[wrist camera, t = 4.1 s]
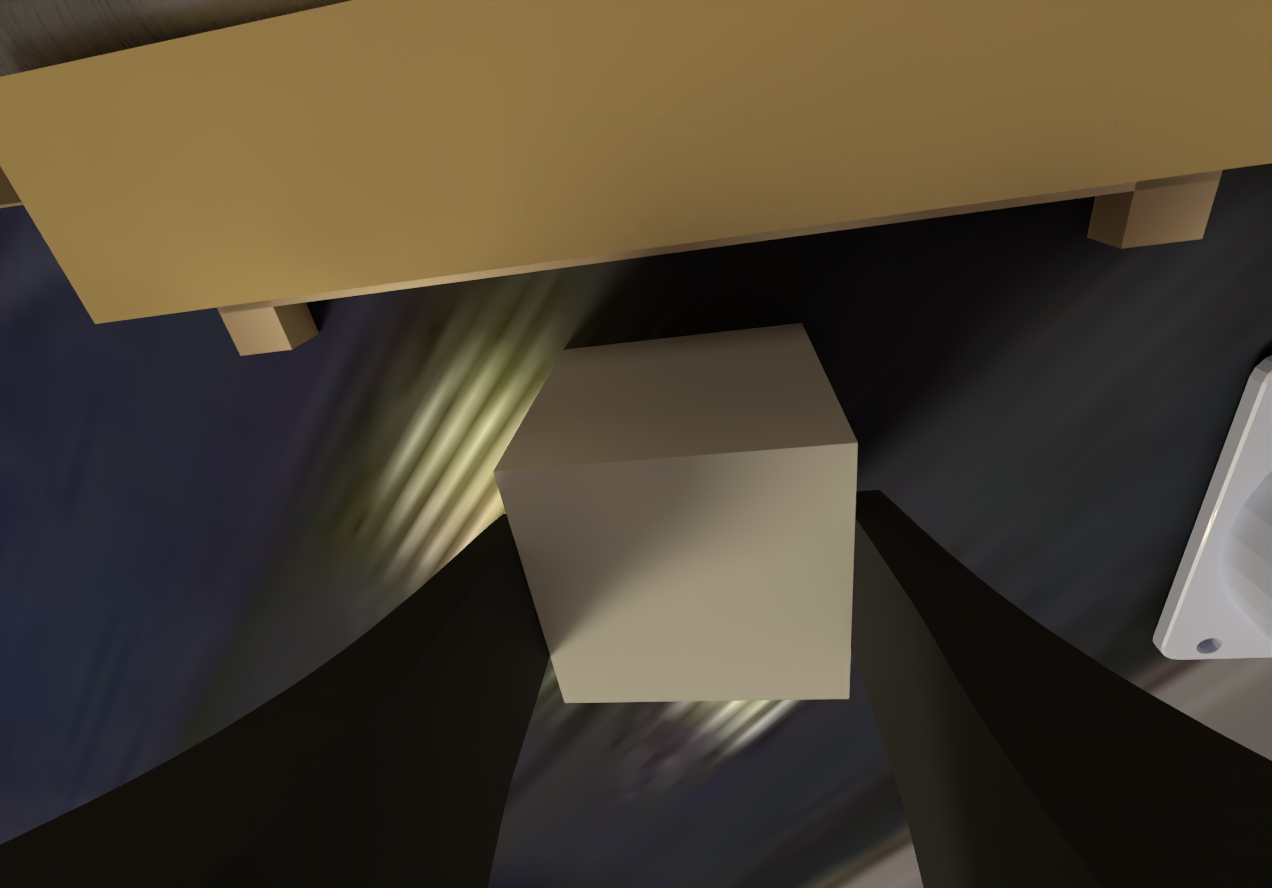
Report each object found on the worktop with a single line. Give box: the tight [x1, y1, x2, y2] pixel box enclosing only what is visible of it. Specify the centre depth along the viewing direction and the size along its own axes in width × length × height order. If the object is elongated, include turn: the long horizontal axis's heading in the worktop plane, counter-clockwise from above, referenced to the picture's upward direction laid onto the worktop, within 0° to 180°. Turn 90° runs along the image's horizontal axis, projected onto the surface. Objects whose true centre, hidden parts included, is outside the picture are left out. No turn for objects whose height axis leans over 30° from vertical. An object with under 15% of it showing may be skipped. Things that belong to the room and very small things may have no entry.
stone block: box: [493, 323, 858, 703], centre depth 11 cm, size 5×5×5 cm
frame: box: [0, 166, 1222, 356], centre depth 8 cm, size 18×6×7 cm, turn 98°
